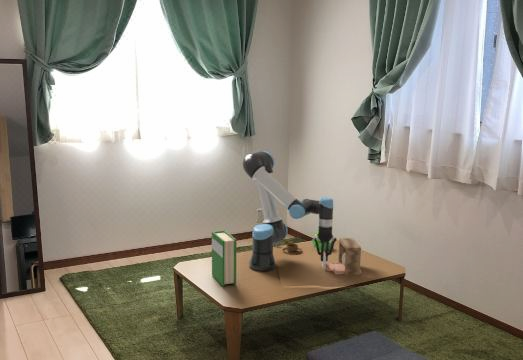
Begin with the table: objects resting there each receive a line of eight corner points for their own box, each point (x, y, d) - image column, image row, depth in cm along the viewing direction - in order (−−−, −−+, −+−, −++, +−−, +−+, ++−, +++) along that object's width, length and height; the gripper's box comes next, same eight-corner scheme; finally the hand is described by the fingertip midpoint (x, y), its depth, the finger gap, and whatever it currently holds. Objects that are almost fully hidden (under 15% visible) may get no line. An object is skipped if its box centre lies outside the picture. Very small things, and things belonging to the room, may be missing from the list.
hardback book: (236, 284, 265) (236, 239, 261) (222, 286, 262) (222, 240, 258) (224, 273, 281) (224, 230, 277) (211, 274, 278) (211, 231, 274)
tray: (328, 274, 281) (328, 269, 281) (323, 265, 295) (323, 260, 295) (361, 274, 282) (361, 268, 282) (354, 265, 297) (355, 260, 296)
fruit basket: (332, 250, 323) (332, 232, 321) (320, 252, 319) (321, 234, 317) (320, 245, 333) (321, 228, 331) (309, 247, 328) (310, 230, 326)
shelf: (345, 275, 280) (346, 247, 277) (338, 264, 298) (339, 238, 295) (359, 275, 281) (361, 247, 278) (351, 264, 298) (353, 238, 296)
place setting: (281, 256, 311) (282, 247, 310) (270, 247, 330) (270, 238, 329) (308, 254, 317) (308, 245, 316) (295, 244, 335) (296, 236, 334)
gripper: (314, 227, 280) (313, 269, 284) (338, 227, 281) (336, 268, 285) (312, 224, 287) (311, 264, 291) (335, 224, 288) (333, 264, 292)
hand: (323, 266), depth 288 cm, fingers closed
